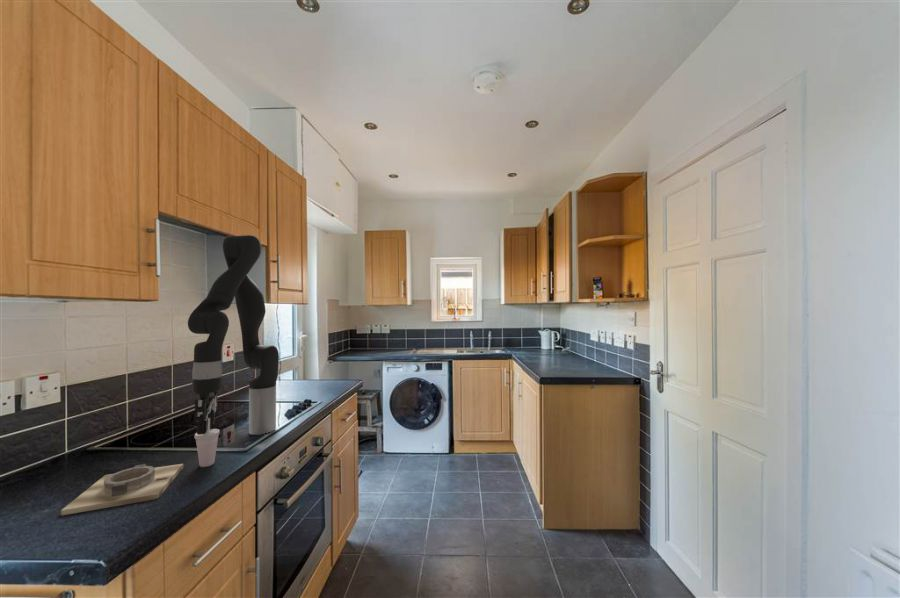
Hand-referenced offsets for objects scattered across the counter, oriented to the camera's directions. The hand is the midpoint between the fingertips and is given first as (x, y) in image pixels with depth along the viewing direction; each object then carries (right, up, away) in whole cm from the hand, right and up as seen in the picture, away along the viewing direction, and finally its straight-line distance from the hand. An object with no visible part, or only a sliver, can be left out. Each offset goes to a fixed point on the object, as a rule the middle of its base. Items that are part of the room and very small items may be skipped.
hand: (206, 429), depth 105 cm
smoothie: (0, -11, 0) cm, 11 cm away
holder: (-10, -11, -14) cm, 20 cm away
